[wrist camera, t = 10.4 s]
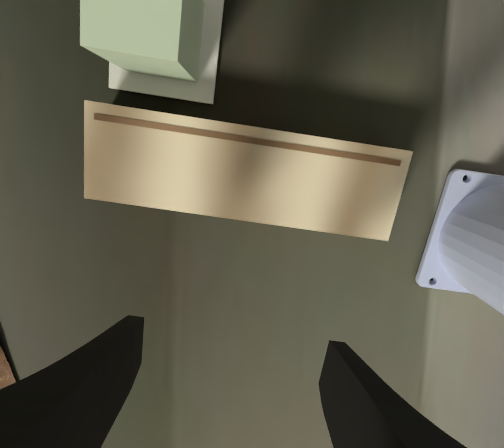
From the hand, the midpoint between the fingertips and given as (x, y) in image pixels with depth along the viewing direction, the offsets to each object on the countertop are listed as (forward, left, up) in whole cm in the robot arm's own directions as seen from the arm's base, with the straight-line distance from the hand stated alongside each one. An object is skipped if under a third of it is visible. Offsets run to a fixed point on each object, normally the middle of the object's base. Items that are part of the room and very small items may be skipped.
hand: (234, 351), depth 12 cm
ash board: (+1, -6, -9) cm, 11 cm away
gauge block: (+6, -13, -9) cm, 17 cm away
